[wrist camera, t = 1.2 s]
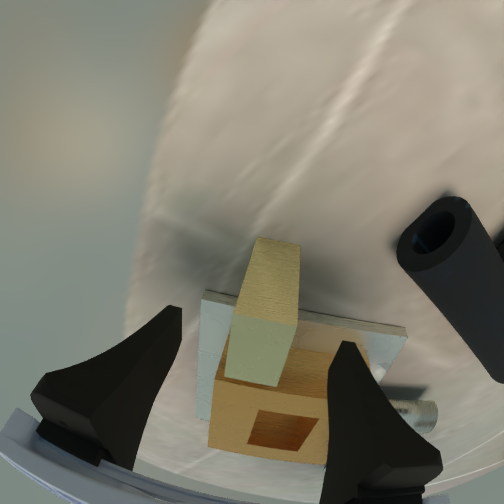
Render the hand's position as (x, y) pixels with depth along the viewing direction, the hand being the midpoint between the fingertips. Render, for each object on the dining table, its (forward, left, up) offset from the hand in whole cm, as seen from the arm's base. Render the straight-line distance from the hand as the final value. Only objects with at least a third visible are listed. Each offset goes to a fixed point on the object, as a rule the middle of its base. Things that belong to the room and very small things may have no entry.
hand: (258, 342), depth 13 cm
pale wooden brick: (0, 0, -6) cm, 6 cm away
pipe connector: (+4, -16, -7) cm, 18 cm away
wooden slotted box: (-10, -6, -6) cm, 13 cm away
